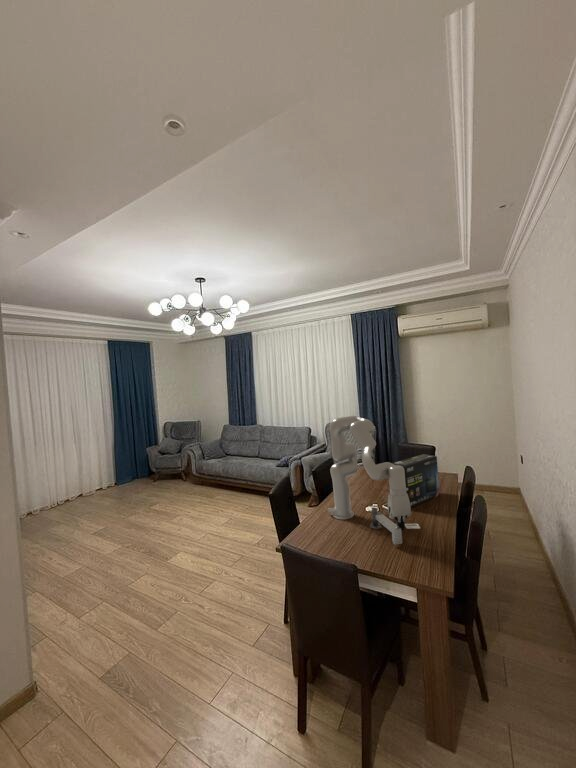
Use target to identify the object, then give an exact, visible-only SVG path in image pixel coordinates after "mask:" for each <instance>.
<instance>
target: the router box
mask: <svg viewBox="0 0 576 768" xmlns="http://www.w3.org/2000/svg"><path fill="white" fill-rule="evenodd" d="M391 463H392V464H394V465H400V466H402V467H403V468H404V471H405V483H406V488H408V491H407V494H408V497H409V501H410V507H411V509H412V508H415V507H416V506H419V505H421V504H424V503H426V502H428V501H431V500H433V499H434V497H435V498H437V496H438V497H440V487H439V483H440V482H439V472H438V457H437V456H436V455H431V454H426V453H425V454H424V453H422V454H420V455H415V456H412V457H409V458H405V459H401V460H397V461H395V462H391Z"/></svg>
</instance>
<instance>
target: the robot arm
mask: <svg viewBox="0 0 576 768" xmlns="http://www.w3.org/2000/svg"><path fill="white" fill-rule="evenodd" d="M328 428H329V434H330V438H331V439H330V440H331V441H330V442H331V456H332V459H333V460H334V461H336V463H334V464H332V465H331V467H330V469H329V471H330V472H329V473H330V476H331V479H332V480H331V481H332V488H333V489H332V491H333V502H334V507H327V512H328V513H330V514H332V516H333V518H334V519H337V520H343V521H345V520H350V519H352V518H353V517H354V516H355V512H354V511H352V507H351V506H352V505H351V494H350V493H351V491H350V484H349V483H348V481H347V480H346V479H347V478H349V477H352V476H355V475H356V474H357V472H358V469H359V468H358V467H359V466H358V452H357V451H358V450H357V448H356V446H355V444H354V443H351V442H346V435H345V434H344V433H345V432H350V433H351V435H352V436H353V438H354V440H355V441H356V443H357V444H358V447H359V448H360V450H361V461H362V466H363V468H364V469H365V471H366V473H367V474H368V476H369V477H370V478H371V480H374V481H375V482H376V481H377V482H379V481H382V480H384V479H385V480H386V479H388V482H389V483H388V484H389V486H388V487H389V493H388V496H387V513H388V514H389V515H388V516H389V518H388V519H390V520H395V521H396V524H397V526H399V527H400V528H401V531H402V532H403V531H405V528H406V527H405V525H404V524H405V522H406V520H407V518H408V517H411V516H412V515H411V513H412V510H411V509H412V508H411V507H410V501H409V497H408V494H407V491H408V488H406V483H405V471H404V468H403V467H402V466H400V465H394V464H392V463H393V462H389V461H386V462H381V463H377V464H376V463H375V461H374V460H373V458H372V451H373V450H374V449H375V448H376V446H377V441H376V440H375V439H374V437H373V436H372V434H373V433H374V432H375V425H374V423H373V421H372V420H370V419H367V418H363V417H359V416H356V415H350V416H344V417H343V416H342V417H337V418H334V419H333V420H331V421H330V423H329V427H328Z"/></svg>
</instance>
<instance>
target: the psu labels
mask: <svg viewBox="0 0 576 768" xmlns="http://www.w3.org/2000/svg"><path fill="white" fill-rule="evenodd" d="M395 524H396V525H397V523H395ZM404 525H405V527H404V528H405V529H406V530H421V526H420V525H419V524H418V523H404Z"/></svg>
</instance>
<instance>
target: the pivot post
mask: <svg viewBox="0 0 576 768" xmlns="http://www.w3.org/2000/svg"><path fill="white" fill-rule="evenodd" d="M376 512H378V508H377V507H375V506H373V507H371V519H372V522H371V523H370V524H369V528H370V529H372V530H380V529H382V524H381V523H380V522H379V521H377V520H376V519H374V518H373V513H376Z"/></svg>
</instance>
